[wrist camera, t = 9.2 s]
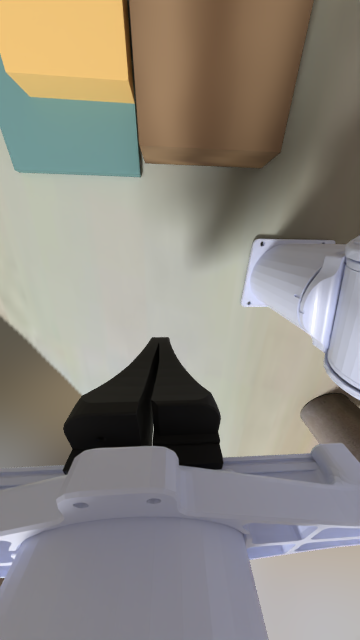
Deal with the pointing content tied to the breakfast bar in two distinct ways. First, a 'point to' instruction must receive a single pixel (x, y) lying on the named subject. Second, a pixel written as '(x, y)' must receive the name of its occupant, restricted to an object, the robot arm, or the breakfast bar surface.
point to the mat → (68, 133)
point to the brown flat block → (215, 78)
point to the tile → (68, 48)
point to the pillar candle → (334, 421)
